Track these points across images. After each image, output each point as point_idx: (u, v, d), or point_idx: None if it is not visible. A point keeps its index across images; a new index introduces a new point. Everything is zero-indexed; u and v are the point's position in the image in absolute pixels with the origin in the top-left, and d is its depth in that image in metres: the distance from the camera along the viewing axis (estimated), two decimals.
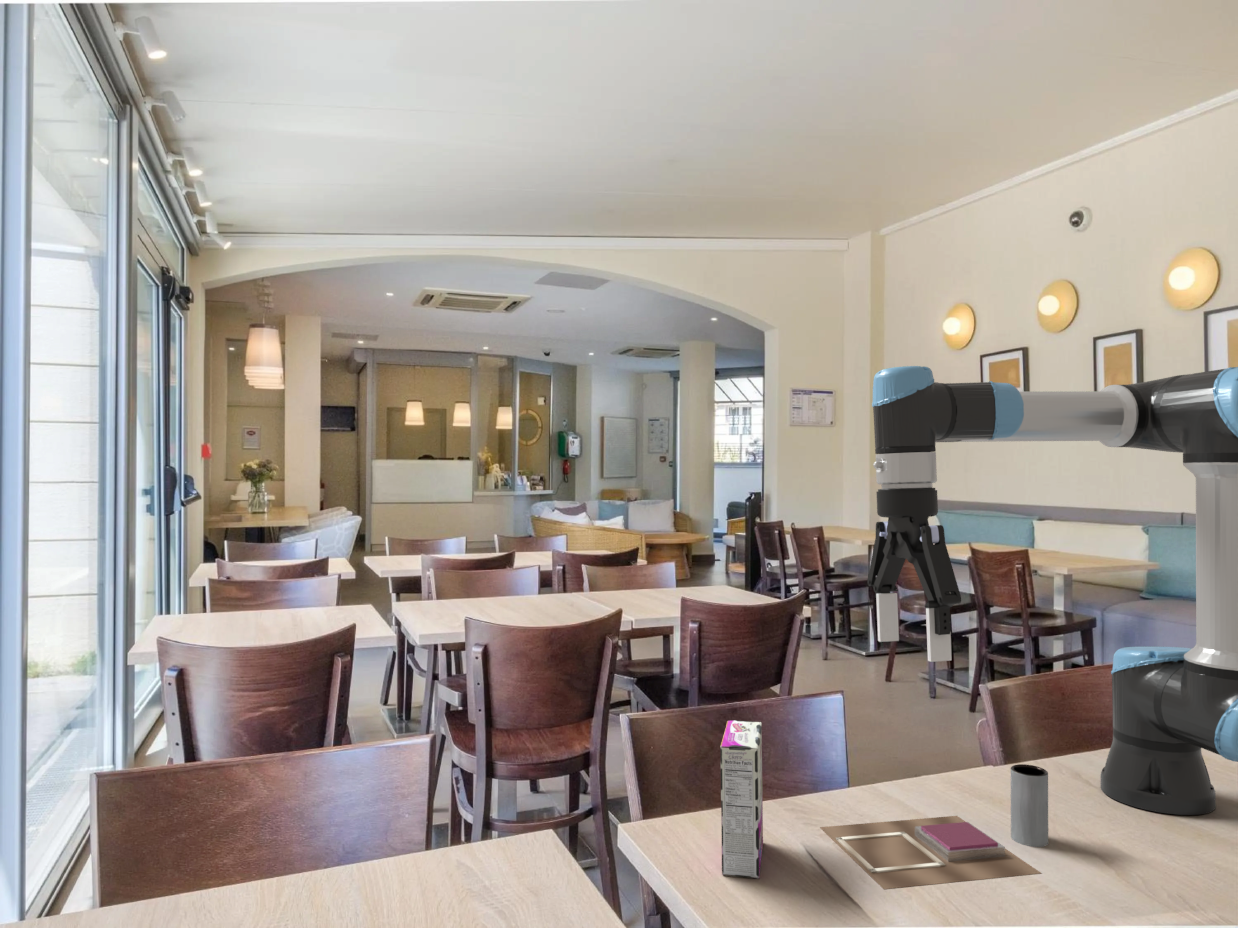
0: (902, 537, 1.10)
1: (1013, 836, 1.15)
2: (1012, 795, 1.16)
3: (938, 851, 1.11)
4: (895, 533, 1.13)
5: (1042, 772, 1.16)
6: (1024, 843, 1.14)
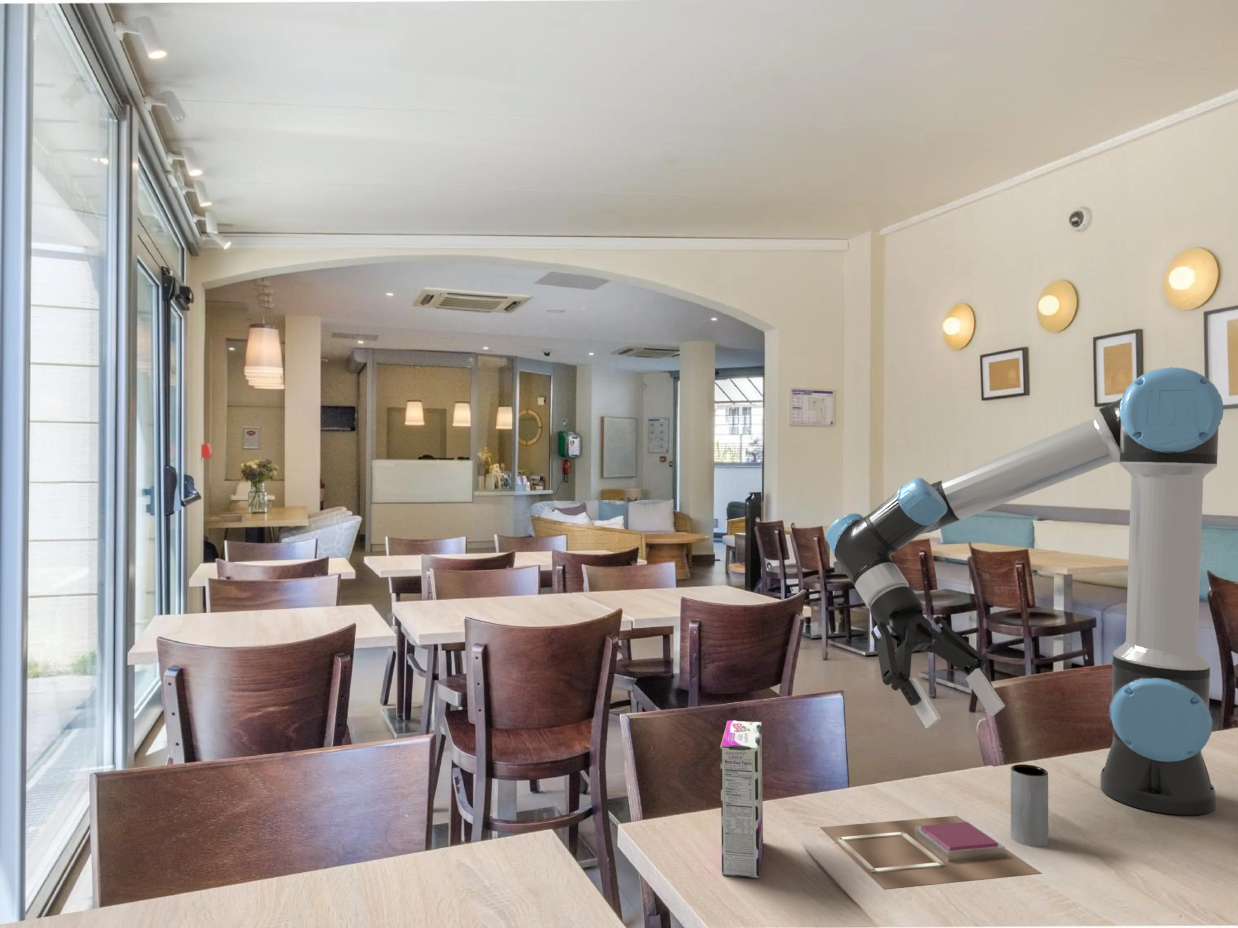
0: None
1: (1013, 836, 1.15)
2: (1012, 795, 1.16)
3: (938, 851, 1.11)
4: None
5: (1042, 772, 1.16)
6: (1024, 843, 1.14)
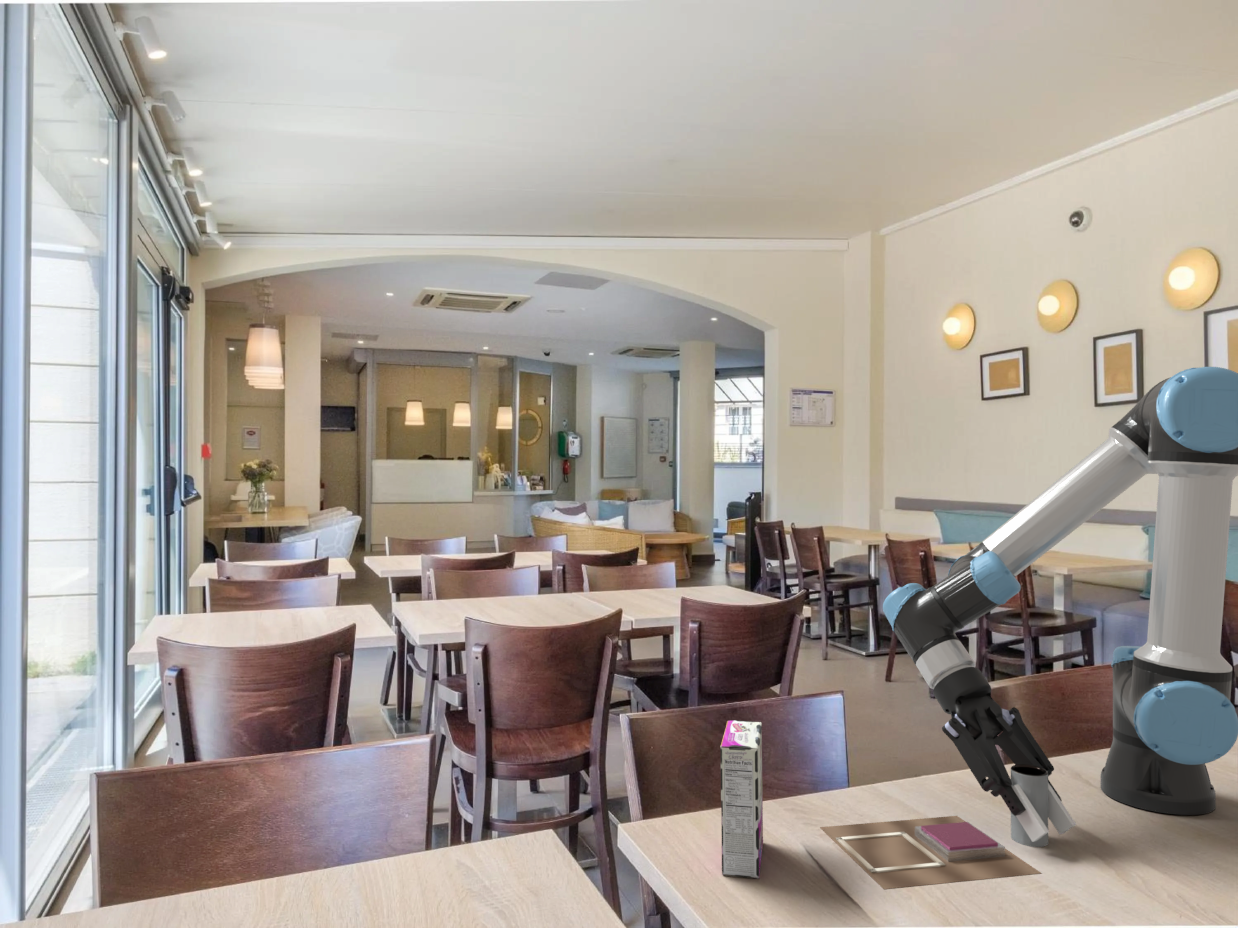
0: None
1: (1013, 836, 1.15)
2: None
3: (938, 851, 1.11)
4: None
5: (1042, 772, 1.16)
6: (1024, 843, 1.14)
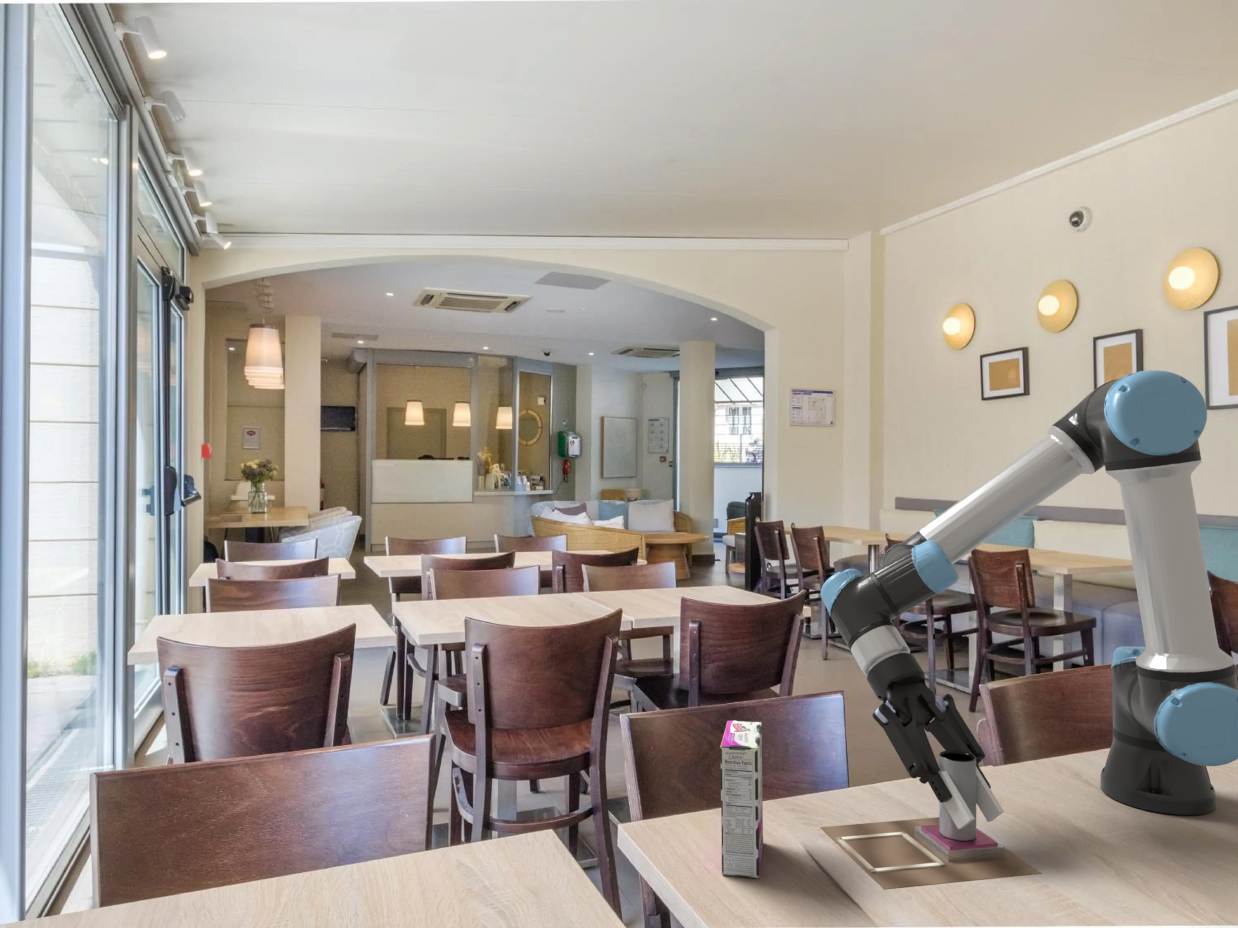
0: None
1: (941, 823, 1.13)
2: None
3: (938, 851, 1.11)
4: None
5: (971, 758, 1.14)
6: (951, 830, 1.12)
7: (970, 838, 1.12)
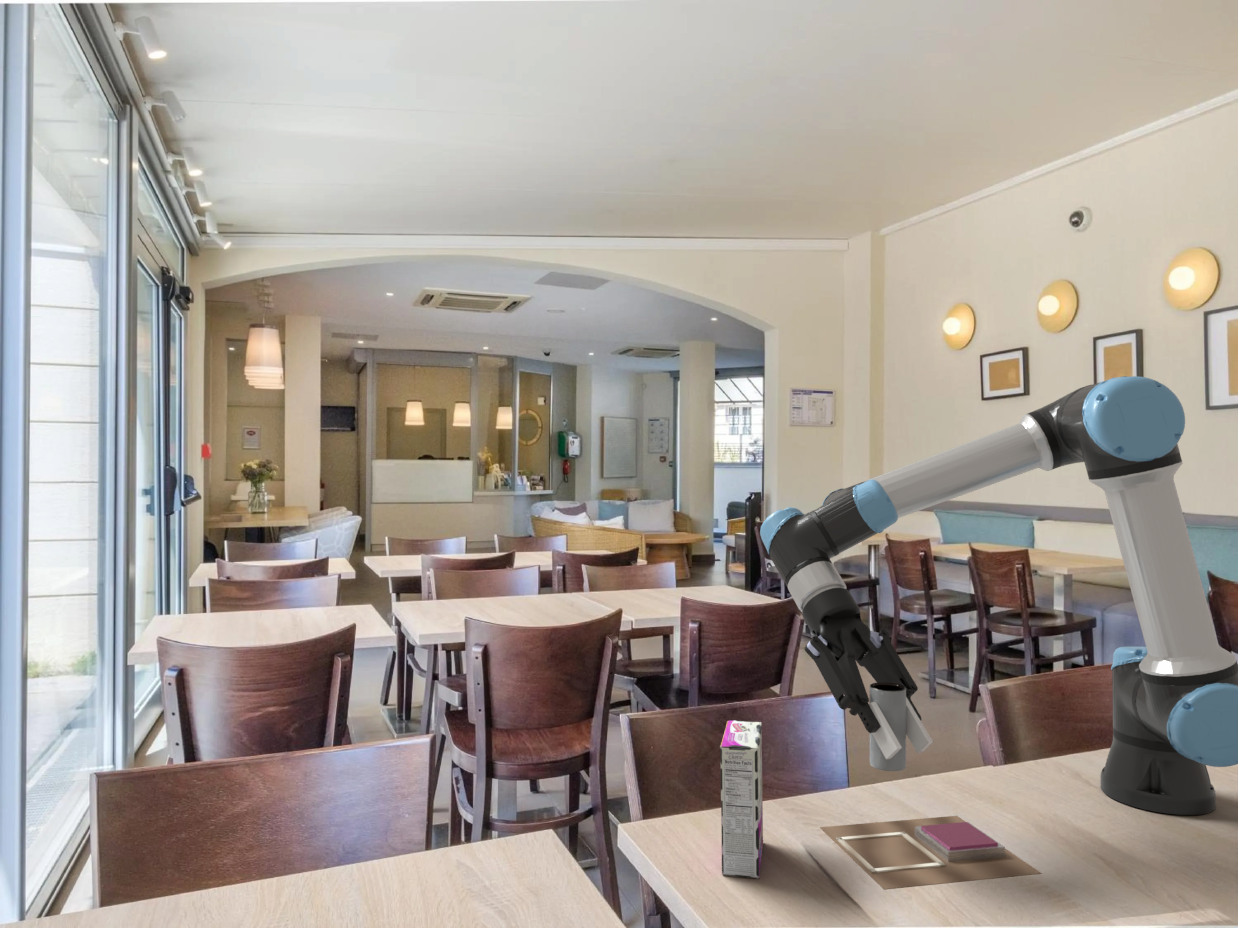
0: None
1: (870, 754, 1.12)
2: None
3: (938, 851, 1.11)
4: None
5: (901, 689, 1.12)
6: (880, 761, 1.10)
7: (899, 769, 1.10)
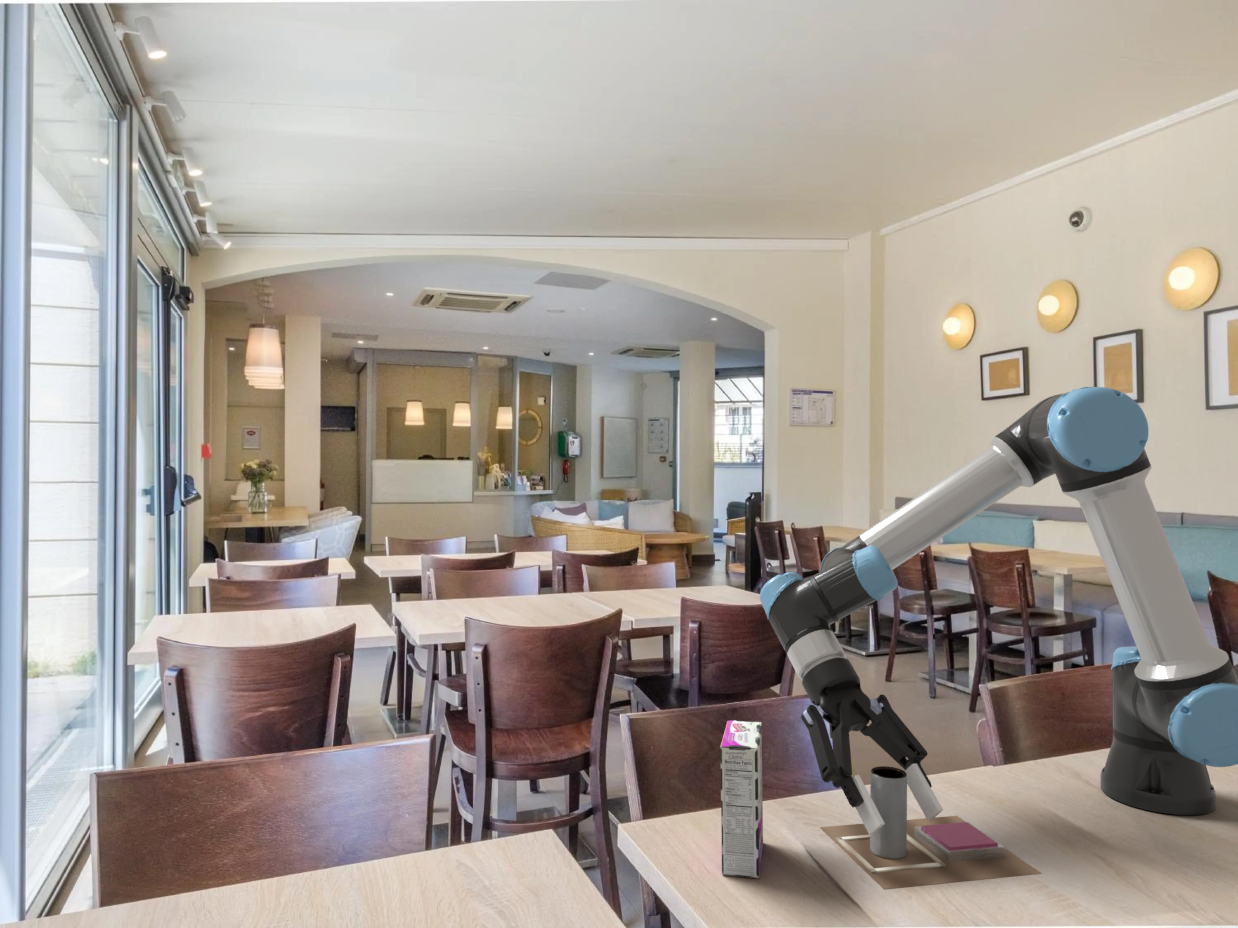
0: None
1: (871, 840, 1.12)
2: None
3: (938, 851, 1.11)
4: None
5: (902, 774, 1.12)
6: (881, 848, 1.10)
7: (899, 856, 1.10)
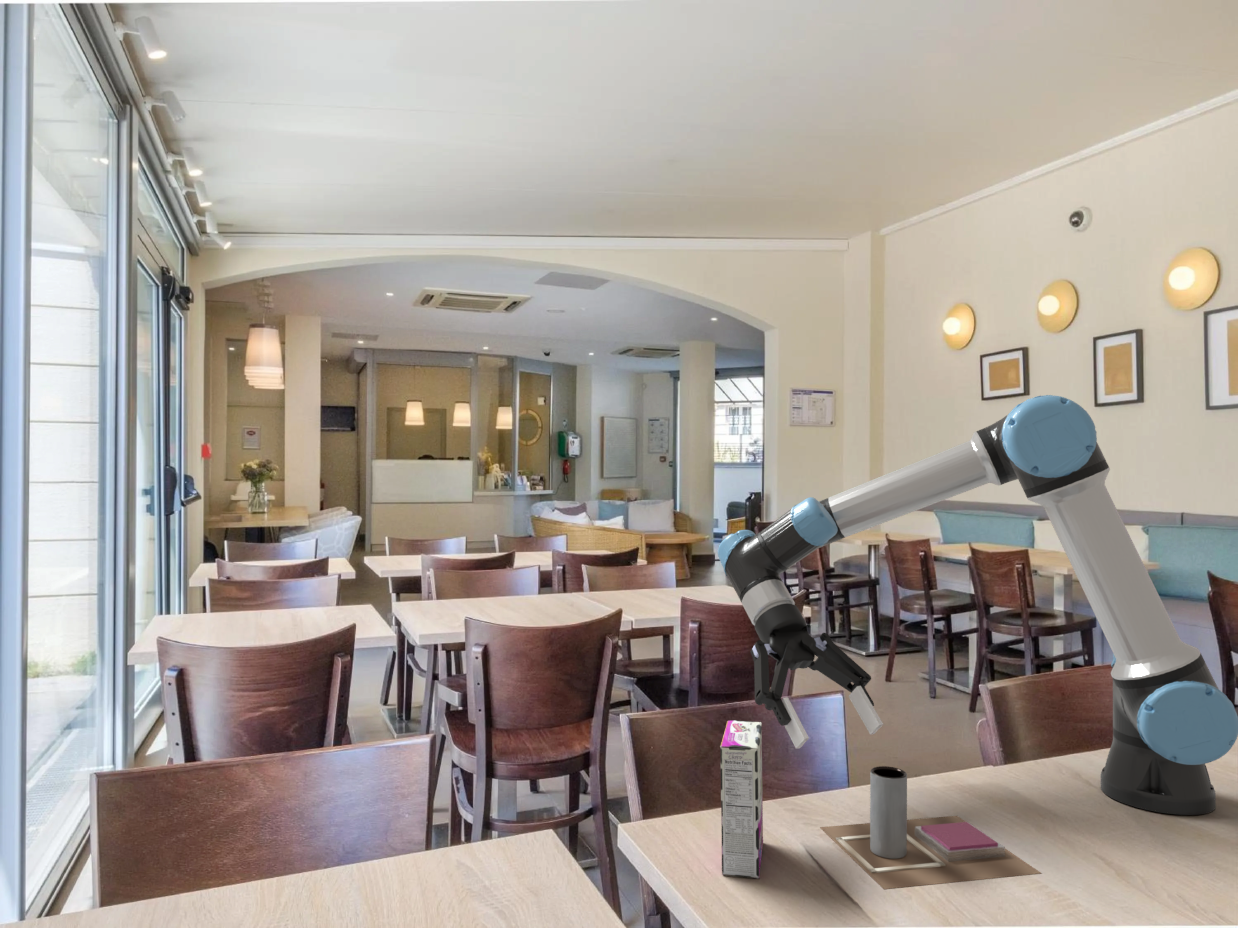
0: None
1: (871, 840, 1.12)
2: (871, 798, 1.12)
3: (938, 851, 1.11)
4: None
5: (902, 774, 1.12)
6: (881, 848, 1.10)
7: (899, 856, 1.10)
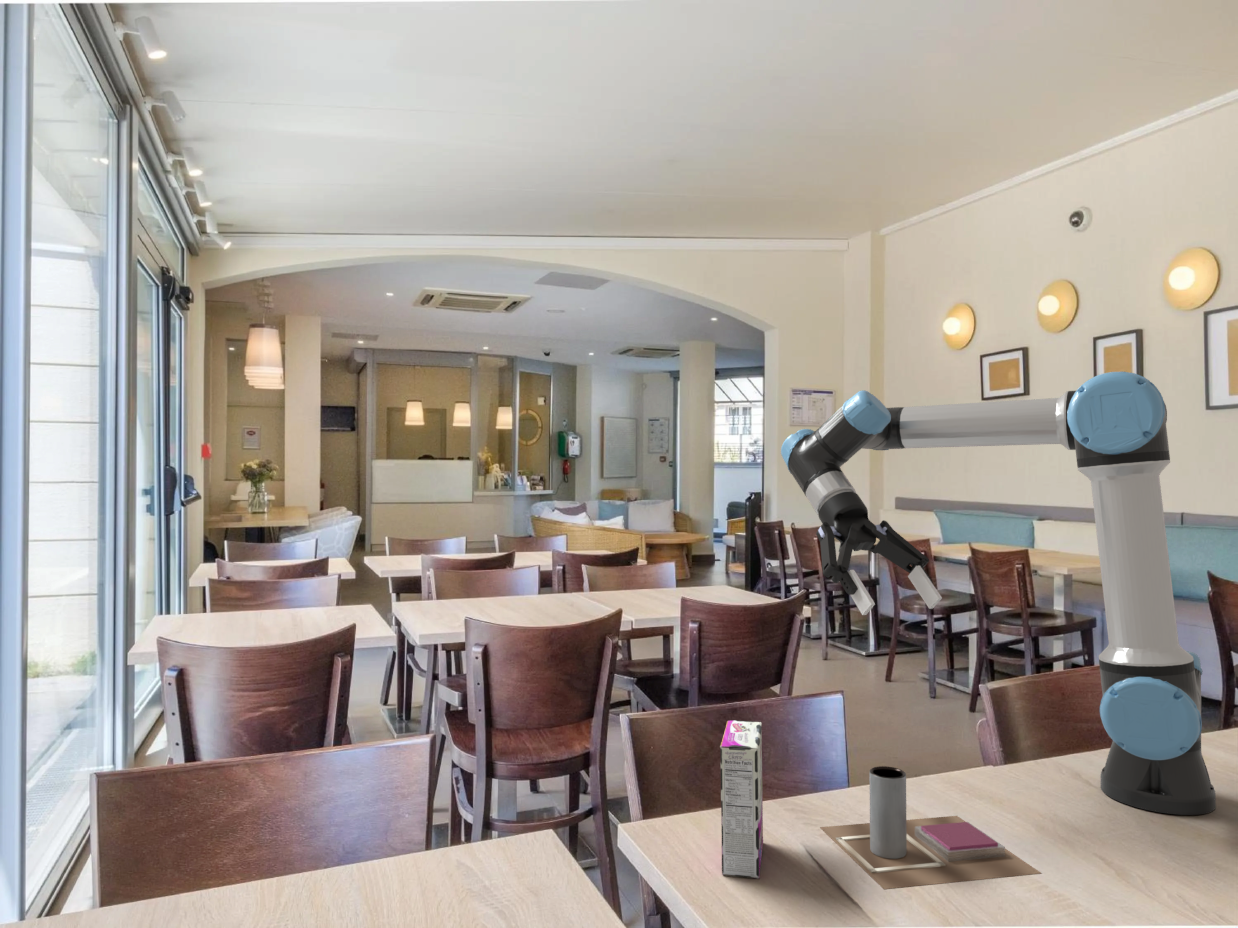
0: None
1: (871, 840, 1.12)
2: (870, 798, 1.12)
3: (938, 851, 1.11)
4: None
5: (901, 774, 1.12)
6: (881, 848, 1.10)
7: (900, 856, 1.10)
